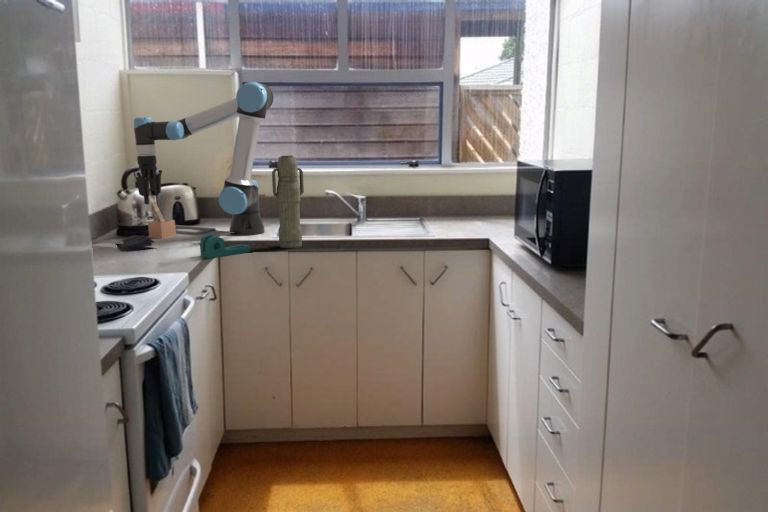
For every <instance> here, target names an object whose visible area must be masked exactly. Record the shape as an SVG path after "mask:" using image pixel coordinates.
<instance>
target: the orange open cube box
mask: <svg viewBox="0 0 768 512" xmlns="http://www.w3.org/2000/svg"><path fill="white" fill-rule="evenodd" d="M164 220H165V222H157V220H156V219H154V220H150V221H147V226H148V238H155V239H165V238H166V239H167V238H170V237H174V236H177V233H176V228H175V225H176V222H175V221H176V220H175V219H166V218H165V219H164Z"/></svg>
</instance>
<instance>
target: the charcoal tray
mask: <svg viewBox="0 0 768 512" xmlns="http://www.w3.org/2000/svg"><path fill="white" fill-rule="evenodd" d="M176 229H177V230H176ZM178 229H185V230H178ZM175 230H176V234H180V235H189V236H190V235H191V236H192V235H193V236H198V235H202V234H203V235H204V234H207V233H212V232H216V227H215V228H214V227H205V226H204V227H203V226H193V225H179V224H175ZM189 230H197V231H189Z"/></svg>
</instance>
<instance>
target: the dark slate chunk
mask: <svg viewBox="0 0 768 512" xmlns="http://www.w3.org/2000/svg"><path fill="white" fill-rule="evenodd" d="M120 241H121V242H122V243H115V246H116V245H117V246H116V247H117V249H118V250H119V252H122V253H124V252H125V253H128V252H139V251H148V250H149V251H150V250H154V249H157V247H152V246H153V243H155V241H154V240H153V239H151V237H149V236H146V235H144V234H143V235H137V234H133V235H130V236H128V237H126V238H124V239H121V240H120ZM150 246H151V247H150Z"/></svg>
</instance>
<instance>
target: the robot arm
mask: <svg viewBox="0 0 768 512" xmlns="http://www.w3.org/2000/svg"><path fill="white" fill-rule="evenodd" d="M274 98H275V97H274V93H273V90H272V89H271V88H270V86H268V85H267V84H264V83H263V82H262V83H261V82H257V81H248V82H244V84H242V85H241V86H239V88H238V89H237V91H236V95H235V98H232V99H231V100H228V101H224V102H223V103H222V102H221V103H220V104H217V105H215V106H211V107H210V108H208V109H204V110H201V111H199V112H196V113H194V114H191V115H189V116H187V117H183V118H181V119H179V120H170V121H154V119H153V117H150V116H146V117H135V118H134V119H133V131H134V139H135V149H136V150H135V151H136V155H137V156H136V161H137V165H138V170H137V171H136V172H133V175H134V177H135V180H136V186H137V190H138V194H139V196H142V197H143V202H144V205H145V210H146V211H145V212H147V213H153V212H152V204H151V196H149V192H151V194H152V196H153V198H154V200H155V202H156V204H157V203H158V196H159V194H161V192H162V190H161V189H162V188H161V187H162V185H161V184H162V183H161V182H162V174H163V170H162V169H158V167H157V162H158V161H157V156H156V153H157V151H156V150H157V149H156V145H155V144H156V142H155V141H178V140H184V139H187V138H188V137H190V136H192V135H195V134H197V133H200V132H203V131H205V130H208V129H210V128H213V127H215V126H218V125H220V124H223V123H225V122H228V121H232V120H234V119H236V118H238V123H237V124H238V125H237V129H236V135H235V140H234V141H235V142H234V147H233V153H232V157H231V158H232V159H231V164H230V169H229V170H230V171H229V175H228V176H226V178H225V179H224V182H223V189H221V191H220V193H219V194H218V204H219V206H220V208H221V209H222V210H223V211H224V212H225V213H227V214H230V215H232V218H231V222H230V226H229V234H230V235H233V236H251V235H252V236H254V235H259V234H263V233H265V231H266V230H265V225H264V224H263V221H262V217H261V213H260V199H259V198H260V196H259V184H258V181H257V180H253V179H252V178H251V176H252V171H253V167H254V160H255V155H256V151H257V149H256V148H257V146H258V145H257V144H258V137H259V133H260V128H261V127H260V126H261V123H262V122H263V121H264V120H266V115H267V110H269V109H271V106H272V105H273V103H274ZM157 205H158V204H157Z"/></svg>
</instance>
